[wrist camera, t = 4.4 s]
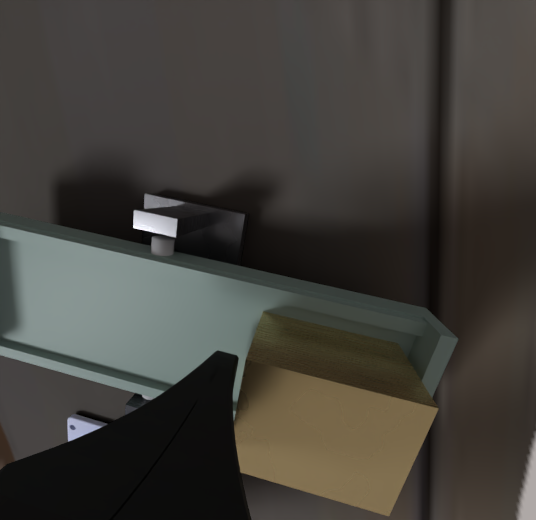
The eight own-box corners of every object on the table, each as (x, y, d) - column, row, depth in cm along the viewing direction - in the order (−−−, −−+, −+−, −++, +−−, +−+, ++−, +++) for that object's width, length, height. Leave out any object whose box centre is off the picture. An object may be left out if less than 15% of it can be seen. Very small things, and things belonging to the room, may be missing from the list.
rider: (366, 428, 12) (388, 516, 9) (246, 396, 13) (225, 467, 10) (398, 343, 11) (438, 408, 8) (262, 311, 12) (245, 359, 8)
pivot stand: (221, 379, 18) (192, 440, 14) (144, 358, 19) (92, 410, 14) (248, 213, 15) (223, 221, 11) (154, 193, 16) (91, 193, 11)
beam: (372, 444, 14) (399, 545, 10) (-28, 333, 16) (-140, 380, 12) (431, 294, 12) (498, 348, 7) (-50, 188, 14) (-198, 185, 10)
